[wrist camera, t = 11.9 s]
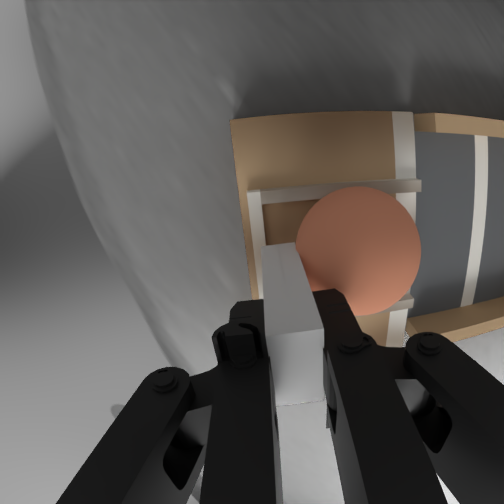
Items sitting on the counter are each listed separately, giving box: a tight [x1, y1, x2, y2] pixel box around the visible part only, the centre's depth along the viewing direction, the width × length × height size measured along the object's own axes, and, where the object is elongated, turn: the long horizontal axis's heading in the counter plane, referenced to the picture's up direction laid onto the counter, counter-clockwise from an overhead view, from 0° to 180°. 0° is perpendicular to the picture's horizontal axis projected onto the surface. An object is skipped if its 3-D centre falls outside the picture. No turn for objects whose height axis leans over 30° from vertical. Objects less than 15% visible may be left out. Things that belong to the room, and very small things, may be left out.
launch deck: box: [230, 111, 421, 347], centre depth 17 cm, size 14×9×3 cm, turn 6°
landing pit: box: [405, 113, 504, 342], centre depth 16 cm, size 14×13×4 cm
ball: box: [296, 186, 421, 316], centre depth 13 cm, size 5×5×5 cm
